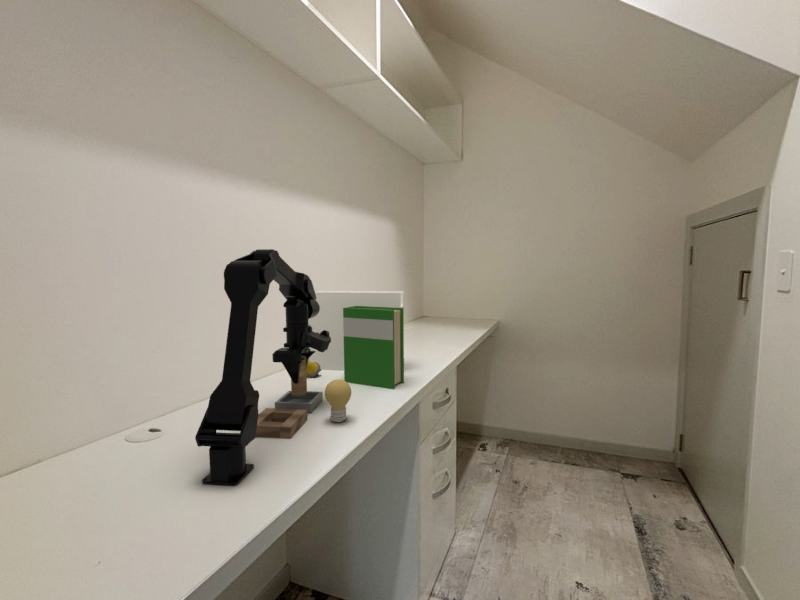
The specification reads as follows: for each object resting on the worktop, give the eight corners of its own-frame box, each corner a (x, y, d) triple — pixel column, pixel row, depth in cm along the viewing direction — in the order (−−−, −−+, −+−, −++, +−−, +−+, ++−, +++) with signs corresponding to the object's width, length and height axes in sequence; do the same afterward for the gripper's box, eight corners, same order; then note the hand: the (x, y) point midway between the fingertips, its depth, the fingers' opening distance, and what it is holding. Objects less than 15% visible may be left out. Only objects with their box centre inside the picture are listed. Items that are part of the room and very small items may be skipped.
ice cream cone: (324, 378, 134) (307, 362, 127) (311, 383, 135) (293, 368, 128) (325, 365, 138) (308, 349, 131) (312, 371, 139) (294, 356, 132)
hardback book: (403, 382, 126) (403, 308, 124) (393, 389, 120) (392, 310, 117) (356, 376, 134) (355, 305, 132) (344, 382, 127) (343, 308, 125)
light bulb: (350, 425, 93) (350, 383, 92) (323, 426, 93) (322, 384, 92) (352, 415, 99) (352, 376, 98) (327, 415, 99) (326, 376, 98)
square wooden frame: (290, 438, 86) (290, 427, 86) (245, 436, 87) (244, 425, 87) (307, 419, 97) (307, 409, 96) (266, 418, 98) (266, 408, 98)
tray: (311, 413, 101) (310, 403, 100) (275, 412, 102) (274, 402, 101) (322, 400, 110) (322, 391, 110) (289, 399, 111) (289, 390, 111)
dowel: (303, 396, 103) (302, 358, 102) (289, 396, 104) (288, 358, 103) (309, 391, 107) (308, 355, 106) (294, 391, 108) (293, 355, 107)
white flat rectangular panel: (305, 369, 143) (303, 292, 141) (313, 363, 151) (311, 290, 149) (400, 372, 138) (400, 292, 135) (404, 366, 146) (403, 291, 143)
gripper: (315, 328, 94) (317, 393, 95) (336, 318, 112) (337, 372, 113) (270, 328, 95) (272, 391, 96) (298, 318, 113) (300, 371, 115)
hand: (298, 381), depth 105 cm, fingers closed on dowel, 4 cm apart
